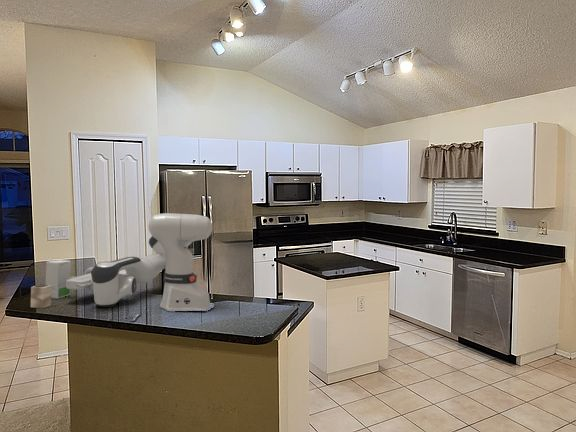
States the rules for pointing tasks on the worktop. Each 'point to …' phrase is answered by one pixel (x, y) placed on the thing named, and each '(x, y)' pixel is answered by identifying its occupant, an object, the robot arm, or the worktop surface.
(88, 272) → the donut
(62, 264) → the skincare box
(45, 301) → the birch marked block
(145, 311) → the worktop surface
